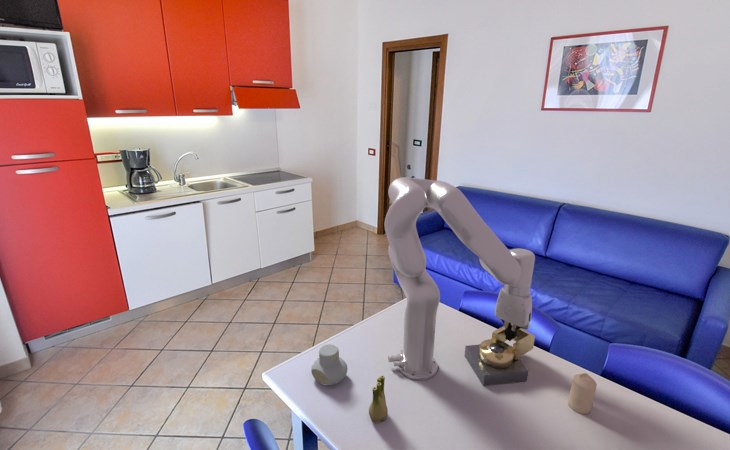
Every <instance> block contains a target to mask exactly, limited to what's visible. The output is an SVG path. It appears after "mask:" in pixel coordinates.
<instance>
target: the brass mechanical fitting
mask: <svg viewBox="0 0 730 450" xmlns="http://www.w3.org/2000/svg"><path fill="white" fill-rule="evenodd" d="M511 325H513V324H511ZM505 329H506V328H505V327H504V325H503V326H500V327H499V328H498V329H495V330H493V331H492V332H491V333H492V336H491V337H490V338H491V339H490V338H489V339H488V338H487V339H485V340H483V341H481V342H480V343H479V344H478V345H479V347H480V351H479V356H480V358H481V360H482V361H483V362H485V363H486V364H488V365H490V366H493V367H498V368H505V367H508V366H510V365H511V364H512V362H513V359H515V360H516V359H517V358H519V359H520V358H521V357H522V356H524V355H526V354H527V353H529V352H530V351H533V349H534V345H535V339H536V335H534V334H533V333H530V332H529V331H528V330H526V329H522V328H520V329H518V330H517V331H516V337H515V338H514V339H512V340H511V341H514V343H513V344H512V345H510V344H508V343H507V342H506V341H508V340H506V339H505V337H506V335H505ZM505 342H506V343H505Z"/></svg>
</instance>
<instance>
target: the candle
mask: <svg viewBox="0 0 730 450" xmlns="http://www.w3.org/2000/svg"><path fill="white" fill-rule="evenodd" d="M597 384H598V383H597V382H596V381H595V379H594V378H593V377H592V376H590V375H589V373H586V372H583V373H577V374H574V375H573V377H572V382H571V387H570V390H569V395H568V400H567V401H568V402H567V404H568V407H569V408H571V410H573V411H574V412H576V413H578V414H582V415H586V414H589V413H590V412H591V411H592V408H593V407H592V406H593V402H594V398H595V394H596V389H597Z"/></svg>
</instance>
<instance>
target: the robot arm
mask: <svg viewBox="0 0 730 450" xmlns="http://www.w3.org/2000/svg"><path fill="white" fill-rule="evenodd" d="M387 192H388V197H389V200H390V201H391V203H392V204H391V205H390V206H389V208H388V210H387V212H386V215H385V218H384V231H385V236H386V238H387V241H388V250H387V254H388V257H389V259H390V263H391V266H392V268H393V270H394V274H395V276H396V278H397V282H398V283H399V286H400V288H401V289H402V291H403V294H404V295H405V298H406V306H405V311H404V318H403V321H404V322H403V343H402V344H403V347H402V350H400V353H398V354H397V355H388V356H387V360H388V361H387V362H388V363H393V367H397V368H398V370H399V371H400V373H401V374H402V375H404V376H405V377H407V378H409V379H412V380H416V381H425V380H428V379H431V378H433V377H434V376H435V375H436V374H437V372H438V369H439V368H438V366H439V365H438V362H437V360H436V359H435V358H434V353H435V351H434V350H435V338H436V324H437V323H436V322H437V313H438V310H439V309H438V308H439V305H440V301H441V300H440V299H441V294H440V293H441V291H440V289H439V287H438V285H437V283H436V281H435V280H434V279H433V278H432V277H431V275H430V273H428V271H427V269H426V267H427V255H426V252H425V251H424V248H423V246H422V243H421V239H420V238H419V237H420V236H419V234H418V228H417V221H418V218H419V216H420V215H421V213H422V212H423V211H424V209H425V208H431V209H433V210H435V211H436V212H437V213H438V214H439V215H440V216H441V217H440V218H442V219H443V221H444V222H445V223H446V224H447V225H448V226H449V228H450V229H451V230H452V232H453V233H454V234H455V235H456V237H457V238H458V239H459V241H461V242H462V244H464V246H466V247H467V249H468V250H470V251H471V252H472V253H473V254H475V255H476V257H478V258H479V259H478V260H479V264H480V265H481V267H482V268H483V269H484V270H485V271H486V272H487V273H488V274H489V275H491V276H492V277H493V278H494V279H495V280H496V281H497V282H499V283H500V284H501V285H503V286H502V287H501V288H500V289H499V293H498V296H497V300H496V305H495V308H494V315H495V317H496V318H497V319H499V320H500V321H501V322H502V324H503V326H504V327H505V328H506V329H505V335H506V337H505V339H506V340H507V341H509V342H511V341H513V340H512V339H514V338H515V337H516V331H517V330H518V329H520V328H521V329H523V330H525V331H528V330H529V329H530V326H531V325H530V322H531V320H532V314H533V312H532V311H533V299H532V294H531V287H532V280H533V274H534V273H533V272H534V266H535V261H536V255H535V254H534V252H533V251H531V250H529V249H525V248H519V247H518V248H511V249H509V248H508V247H507V246H506V245H505V244H504V243H503V241H502V240H501V239H500V238H499V237H498V236H497V235H496V234H495V232H494V231H493V230H492V229H491V227H490V226H488V224H487V223H486V222H485V221H484V220H483V218H482V217H481V215H480V214H479V213H478V211H476V209H475V208H474V206H473V205H472V204H471V202H470V201H469V199H468V198H467V197H466V195H465V194H464V193H463V192H462V191H461V190H460V189H459V188H458V187H456V186H454V185H452V184H450V183H449V182H446V181H442V180H436V179H435V180H433V179H424V178H416V177H415V178H414V177H406V176H403V177H398V178H396V179H394V180H393V181H392V182H391V183H390V184H389V187H388V191H387ZM511 324H513V325H511Z"/></svg>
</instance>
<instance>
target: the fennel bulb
mask: <svg viewBox="0 0 730 450" xmlns="http://www.w3.org/2000/svg"><path fill="white" fill-rule="evenodd" d="M376 380H377V381H376V386H372V401H371V403H370V405H369V407H368V414H369V415H368V416H369V418H370V419H371V421H372V423H380V422H384V421H385V420H386V419H387V417H388V406H387V401H386V395H385V376H384V375H380V376H379V377H378V378H376Z"/></svg>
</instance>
